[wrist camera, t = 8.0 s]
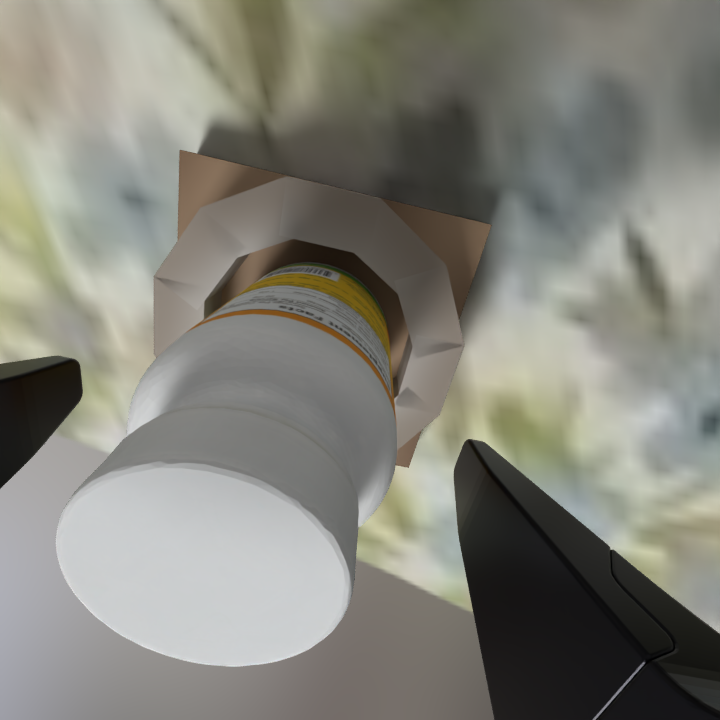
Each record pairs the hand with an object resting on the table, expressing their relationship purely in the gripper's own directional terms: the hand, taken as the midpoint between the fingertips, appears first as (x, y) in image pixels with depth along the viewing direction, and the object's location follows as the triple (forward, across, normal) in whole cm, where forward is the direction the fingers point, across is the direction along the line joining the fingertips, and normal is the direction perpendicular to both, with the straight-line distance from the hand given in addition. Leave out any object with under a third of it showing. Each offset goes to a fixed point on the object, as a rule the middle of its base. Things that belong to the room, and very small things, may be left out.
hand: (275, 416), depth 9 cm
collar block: (+7, 0, 0) cm, 7 cm away
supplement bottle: (+6, 0, 0) cm, 6 cm away
